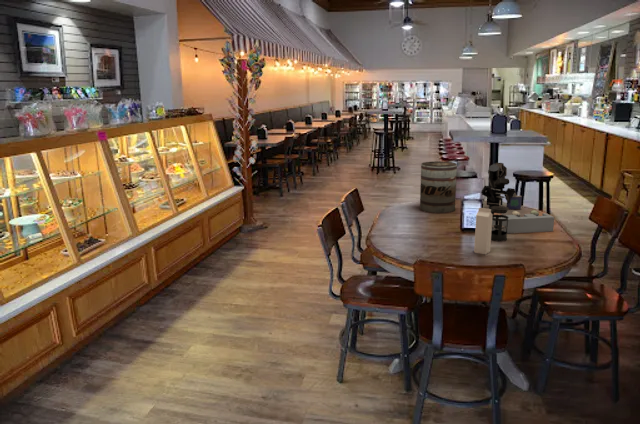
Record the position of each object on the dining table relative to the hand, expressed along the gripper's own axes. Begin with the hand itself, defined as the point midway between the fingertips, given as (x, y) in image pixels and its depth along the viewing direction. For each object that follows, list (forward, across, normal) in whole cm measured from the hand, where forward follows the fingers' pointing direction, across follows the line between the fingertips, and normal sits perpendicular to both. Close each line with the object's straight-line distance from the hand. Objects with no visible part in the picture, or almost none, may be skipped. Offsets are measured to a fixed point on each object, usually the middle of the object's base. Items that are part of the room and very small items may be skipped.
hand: (501, 202), depth 297 cm
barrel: (-25, -22, +37) cm, 50 cm away
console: (+18, +8, +3) cm, 20 cm away
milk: (+48, -28, -11) cm, 57 cm away
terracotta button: (+11, -4, +3) cm, 12 cm away
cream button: (+10, +7, +2) cm, 12 cm away
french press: (+30, -12, -2) cm, 32 cm away
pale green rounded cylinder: (+9, +18, +1) cm, 20 cm away
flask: (-22, +26, +27) cm, 43 cm away
